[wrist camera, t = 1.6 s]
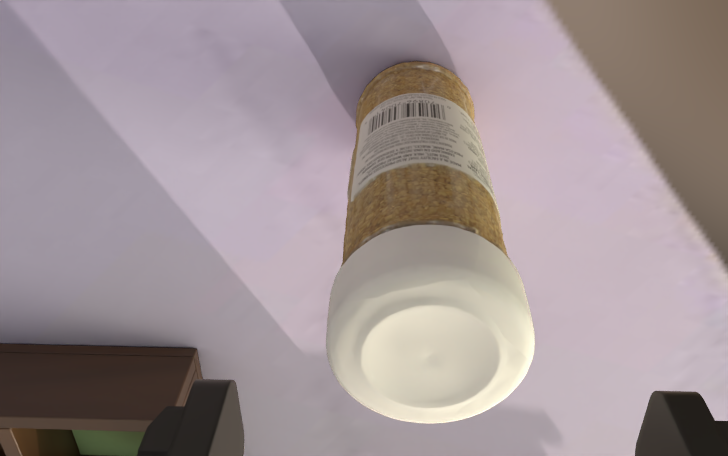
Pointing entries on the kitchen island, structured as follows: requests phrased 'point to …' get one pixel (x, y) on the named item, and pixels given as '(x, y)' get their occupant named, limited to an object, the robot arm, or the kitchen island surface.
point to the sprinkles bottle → (424, 259)
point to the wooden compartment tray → (87, 396)
